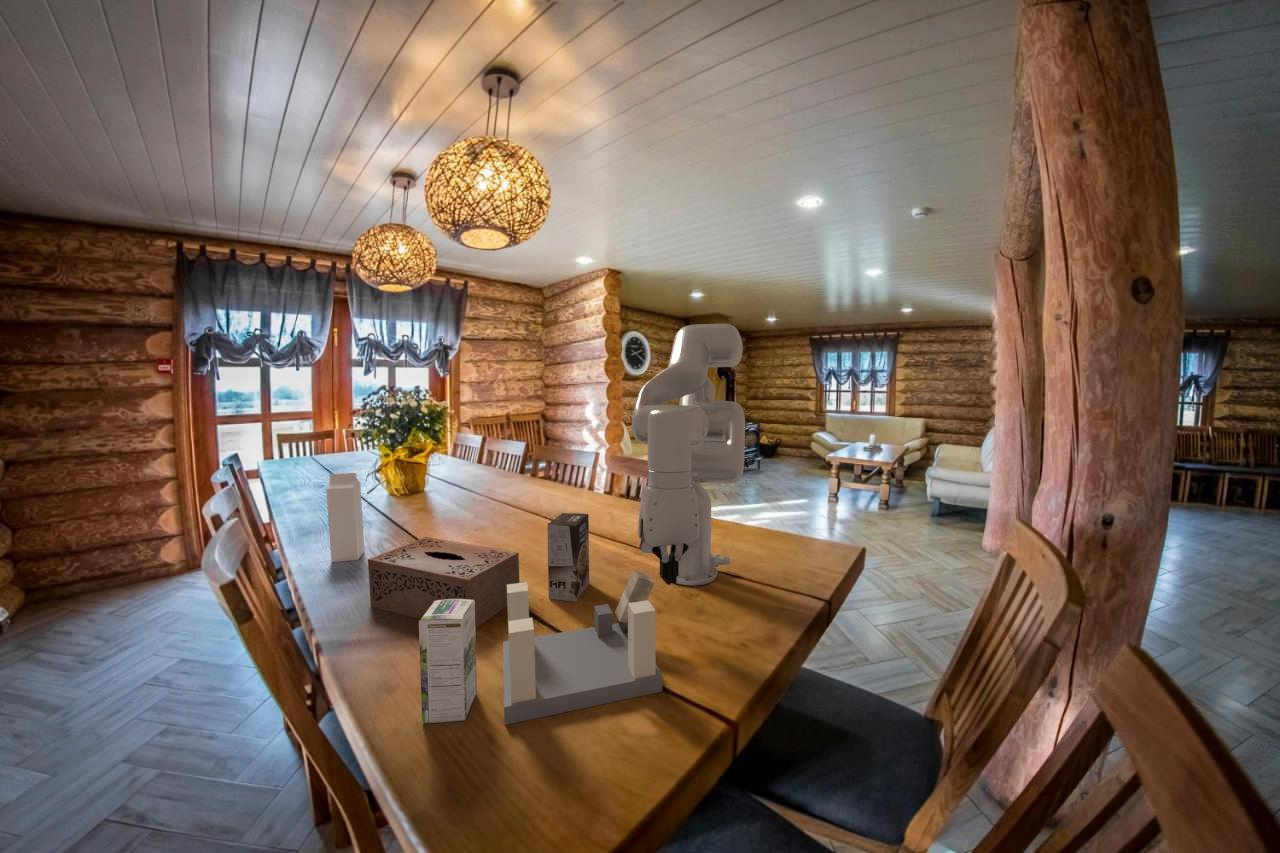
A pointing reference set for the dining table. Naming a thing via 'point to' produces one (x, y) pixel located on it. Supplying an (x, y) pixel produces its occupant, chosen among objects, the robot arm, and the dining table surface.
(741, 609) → the dining table surface
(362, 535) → the milk
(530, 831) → the dining table surface
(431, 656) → the syrup box
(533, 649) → the footstool
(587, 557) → the coffee box
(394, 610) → the tissue box cover
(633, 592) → the folding leg
